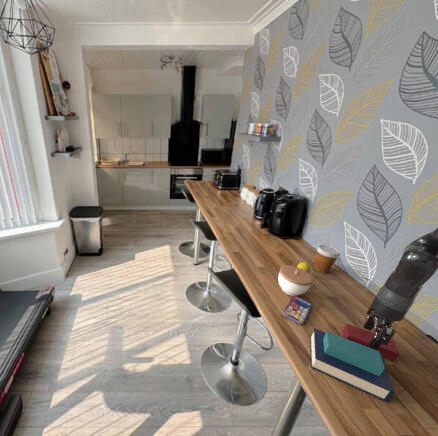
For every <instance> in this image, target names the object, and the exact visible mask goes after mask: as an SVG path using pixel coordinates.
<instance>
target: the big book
mask: <svg viewBox="0 0 438 436" xmlns="http://www.w3.org/2000/svg"><path fill="white" fill-rule="evenodd" d="M325 334H326V332H325V331H322V330H320V329H317V328H315V327H314V328H313V332H312V335H311V336H309V350H310V368H311V369H313V370H316V371H317V372H319V373H321V374H324V375H325V376H326V375H327V376H329V377H330V378H333V379H335V380H337V381H339V382H341V383H344V384H346V385H348V386H350V387H352V388H354V389H357V390H359V391H361V392H363V393H365V394H368V395H370V396H372V397H374V398H377V399H379V400H380V401H383V402H385V403H389V402H390V400H391V399H392V398H393V397H394V395H395V394H396V392H395V391H396V390H395V388H394V385H393V383H392V379H391V376H390V374H389V370H388V368H387V365H386V361H385V358H384V357H383V355H382V354H380V355H381V358H382V361H383V364H384V367H385V369H384V370H383V372H382V373H381V375H380V376H378V375H375V374H373V373H371V372H368V371H366V370H363V369H361V368H359V367H356V366H354V365H352V364H349V363H347V362H344V361H342V360H340V359H337V358H335V357H333V356H330V355H328V354H325V352H324V342H323V339H324V336H325Z"/></svg>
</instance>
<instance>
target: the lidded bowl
mask: <svg viewBox="0 0 438 436" xmlns="http://www.w3.org/2000/svg"><path fill="white" fill-rule="evenodd" d="M277 281H278V285H279V286H280V288H281V290H282V291H283V293H286V294H287V295H289V296H292V297H293V296H298V297H299V296H302V295H304V294H305V293H307V292H308V291H309V290H310V288H311V286H312V284H313V283H314V278H313V276H312V274H310V273H308V272H307V271H305V270H303V269H301V268H298V267H297V266H294V265H283V266H281V267H280V269H279V273H278V278H277Z"/></svg>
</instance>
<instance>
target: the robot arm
mask: <svg viewBox="0 0 438 436" xmlns="http://www.w3.org/2000/svg"><path fill="white" fill-rule="evenodd" d="M437 271H438V227H436V228H435V229H434V230H433V231H430V232H428V233H426V234H424V235H422V236H420V237H418V238H417V239H415V240H413V241H411V242H410V243H409V244H408V245H406V246H405V247H404V249H403V250H402V255H401V257H400V260H399V261H398V263H397V265H396V266H395V269H394V270H393V271H392V272H390V274H389V276H388V277H387V279H386V281H385V282H384V284H383V285H382V286H381V287H380V289H379V290H378V292H377V294H376V296H375V297H374V299H373V300H372V302H371V303H370V306H369V307H368V309H367V310H366V315H367V316H366V321H365V322H364V324H363V328H364V330H366V331H373V333H374V337H373V338H372V340H371V341H370V343H369V346H370V347H372V348H375V349H378V348H379V347H380V345H381V344H384V345H388V343H389V342H390V340H393V337H394V335H395V334H396V329H393V328H392V326H393V322H402V321H403V319H404V318H405V317H406V315H407V314H408V312H409V310H410V309H411V308H412V306H413V305H414V303H415V301H416V298H417V297H418V295H419V294H420V292H421V290H422V289H423V287H424V286H425V284H426V283H427V282H428V281H429V280H430V279H431V278H433V276H434V275H435V274H436V272H437Z"/></svg>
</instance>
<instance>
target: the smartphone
mask: <svg viewBox="0 0 438 436" xmlns="http://www.w3.org/2000/svg"><path fill="white" fill-rule="evenodd" d="M312 308H313V303H312V302H310V301H308V300H306V299H304V298H301V297H299V295H298V296H292V297H291V299H290V300H289V301H288V303H287V305H286V306H285V308H284V310H283V312H282V314H283V316H285V317H287V318H289V319H290V320H292V321H294V322H295V323H297V324H299V325H304V324H305V322H306V320H307V318H308V316H309V314H310V312H311V310H312Z"/></svg>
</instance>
